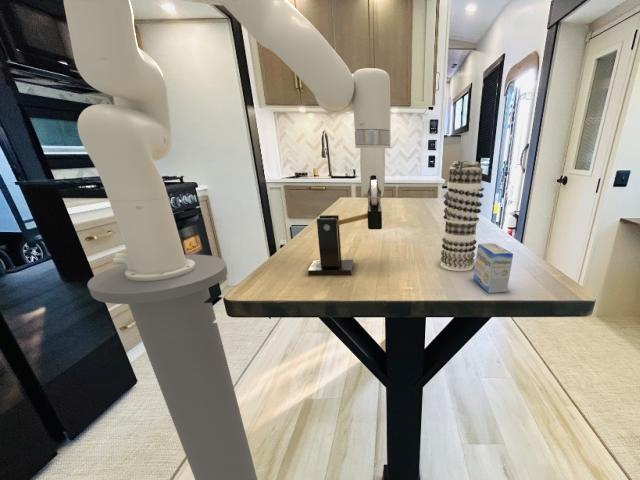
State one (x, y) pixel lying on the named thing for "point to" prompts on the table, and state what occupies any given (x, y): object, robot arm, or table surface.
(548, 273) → the table surface
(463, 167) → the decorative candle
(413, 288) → the table surface
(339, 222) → the flush lever
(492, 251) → the medicine box
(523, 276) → the table surface
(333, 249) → the lever bracket
